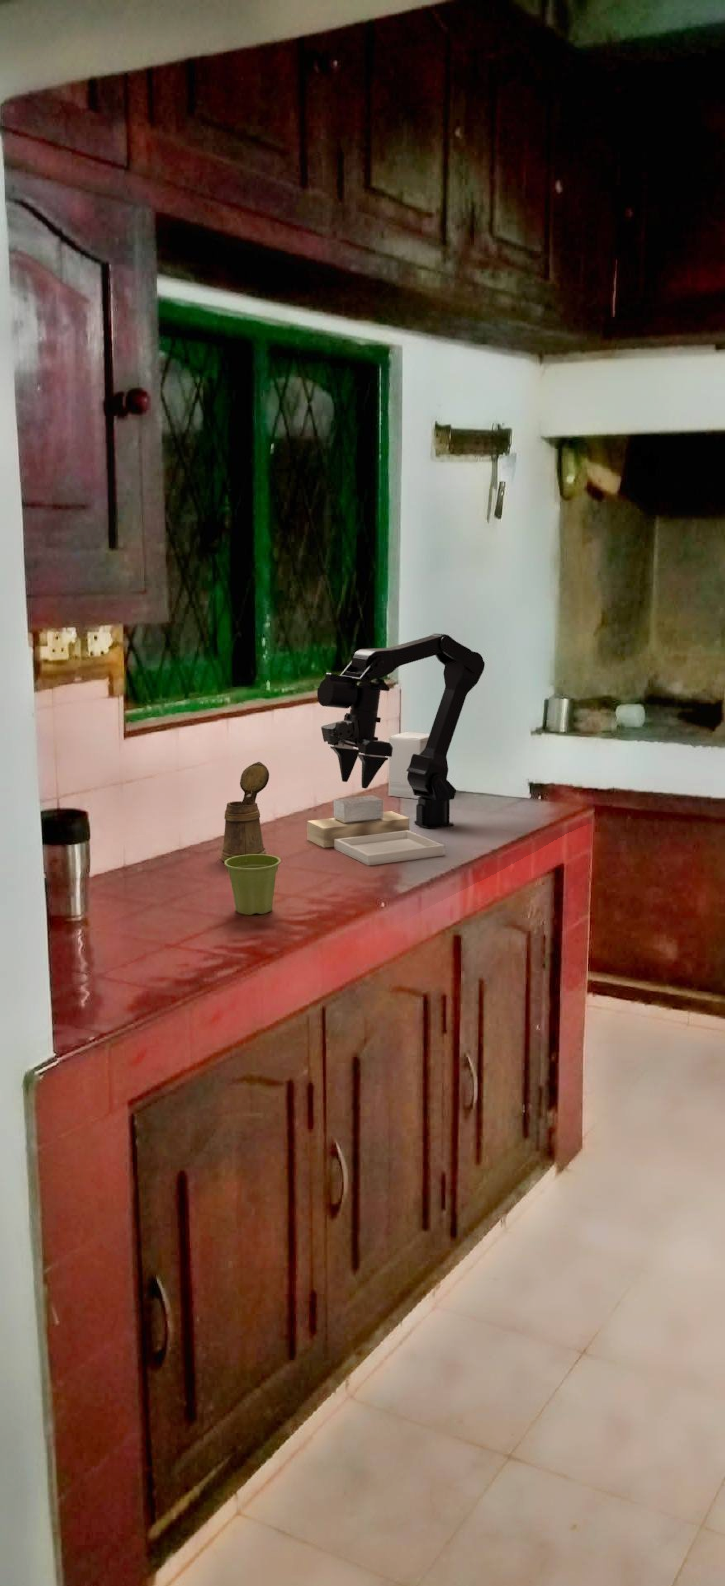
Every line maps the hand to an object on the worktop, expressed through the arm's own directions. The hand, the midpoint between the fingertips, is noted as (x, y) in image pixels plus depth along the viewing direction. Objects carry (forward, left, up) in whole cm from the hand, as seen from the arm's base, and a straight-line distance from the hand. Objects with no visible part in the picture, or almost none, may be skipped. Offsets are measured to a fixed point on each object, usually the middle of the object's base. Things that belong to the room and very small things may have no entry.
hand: (354, 784), depth 259 cm
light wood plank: (-1, 0, -11) cm, 11 cm away
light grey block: (-1, 0, -7) cm, 7 cm away
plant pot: (+38, +38, -12) cm, 55 cm away
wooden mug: (+25, +3, -12) cm, 28 cm away
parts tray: (-1, +14, -11) cm, 18 cm away
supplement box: (-33, -34, -12) cm, 49 cm away
